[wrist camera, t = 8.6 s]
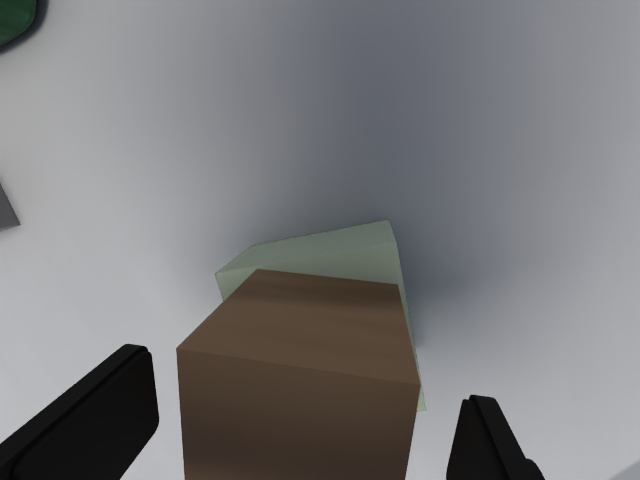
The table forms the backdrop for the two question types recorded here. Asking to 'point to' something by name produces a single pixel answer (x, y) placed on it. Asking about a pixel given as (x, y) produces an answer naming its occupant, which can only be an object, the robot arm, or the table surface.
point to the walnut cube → (299, 382)
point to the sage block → (327, 262)
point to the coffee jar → (15, 18)
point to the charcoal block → (6, 213)
